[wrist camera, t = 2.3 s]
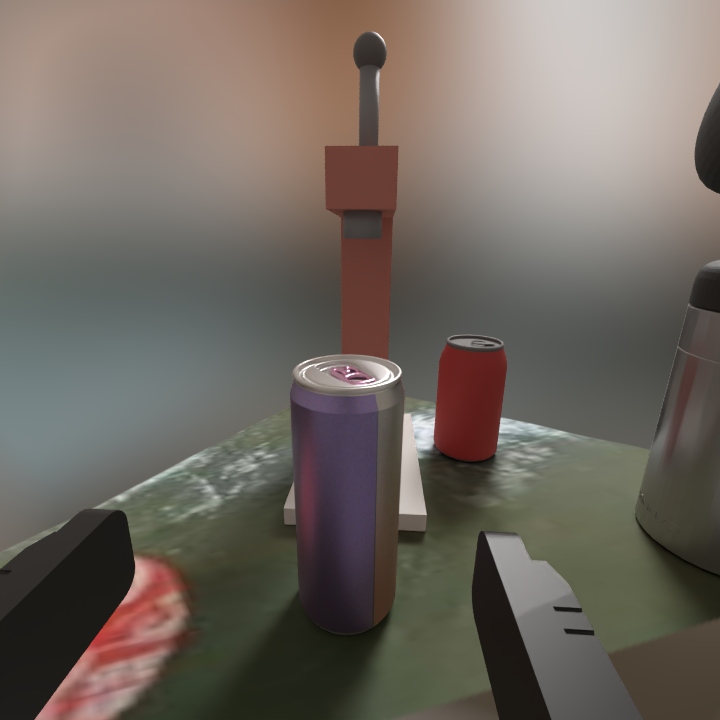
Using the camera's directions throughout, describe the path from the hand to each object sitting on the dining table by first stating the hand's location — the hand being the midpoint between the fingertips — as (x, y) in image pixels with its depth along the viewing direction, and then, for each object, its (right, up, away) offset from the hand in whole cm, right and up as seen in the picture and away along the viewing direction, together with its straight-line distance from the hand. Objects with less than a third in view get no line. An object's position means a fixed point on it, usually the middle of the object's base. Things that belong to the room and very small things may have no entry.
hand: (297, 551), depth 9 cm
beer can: (+13, -5, +33) cm, 36 cm away
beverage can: (+1, -11, +16) cm, 19 cm away
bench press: (+2, -6, +30) cm, 30 cm away
